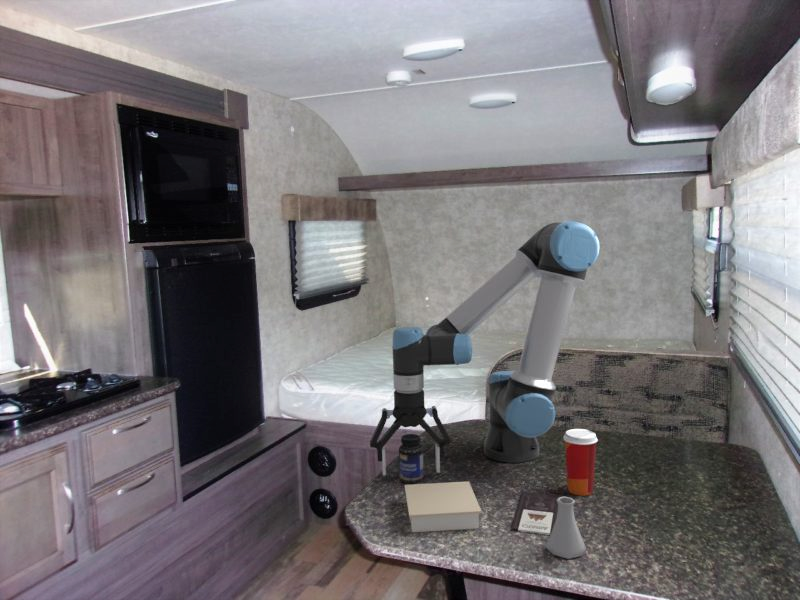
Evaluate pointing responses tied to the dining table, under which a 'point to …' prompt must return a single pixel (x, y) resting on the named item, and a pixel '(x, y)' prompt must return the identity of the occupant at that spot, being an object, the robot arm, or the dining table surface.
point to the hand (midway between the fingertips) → (411, 471)
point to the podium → (442, 506)
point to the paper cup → (580, 460)
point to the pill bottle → (410, 459)
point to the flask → (565, 532)
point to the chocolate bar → (536, 513)
